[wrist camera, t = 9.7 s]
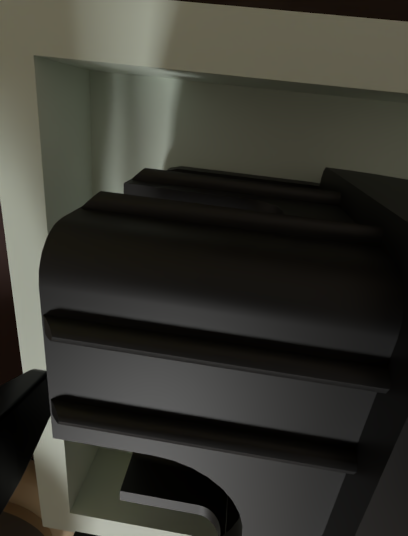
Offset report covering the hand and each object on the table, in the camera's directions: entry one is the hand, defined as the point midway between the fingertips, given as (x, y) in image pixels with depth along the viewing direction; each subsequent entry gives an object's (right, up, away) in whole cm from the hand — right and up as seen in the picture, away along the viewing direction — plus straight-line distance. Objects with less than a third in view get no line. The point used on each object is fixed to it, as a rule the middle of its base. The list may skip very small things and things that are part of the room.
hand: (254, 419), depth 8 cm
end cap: (+1, +2, +4) cm, 4 cm away
